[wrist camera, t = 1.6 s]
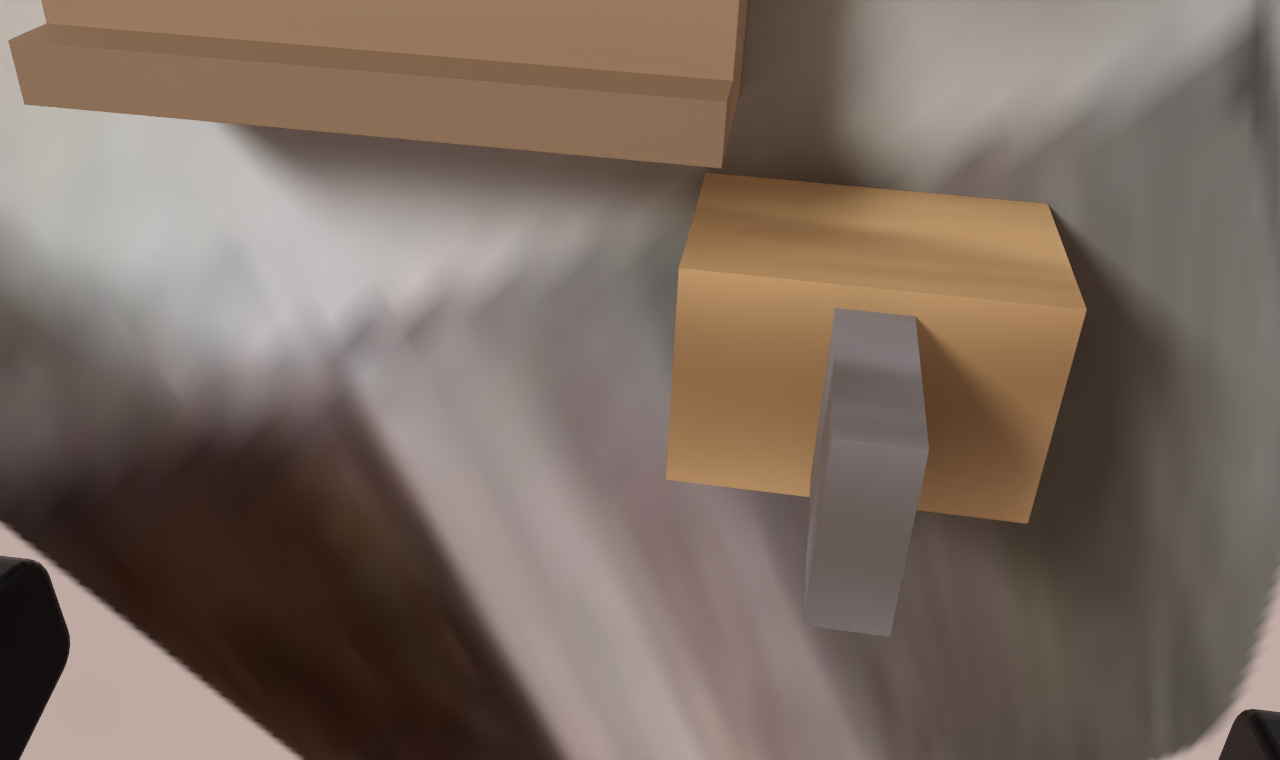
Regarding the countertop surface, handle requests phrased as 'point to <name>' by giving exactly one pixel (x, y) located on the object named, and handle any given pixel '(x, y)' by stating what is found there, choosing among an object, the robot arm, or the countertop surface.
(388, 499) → the countertop surface
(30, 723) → the robot arm
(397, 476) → the countertop surface
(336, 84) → the wooden stand with panel
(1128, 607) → the countertop surface
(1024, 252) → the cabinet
